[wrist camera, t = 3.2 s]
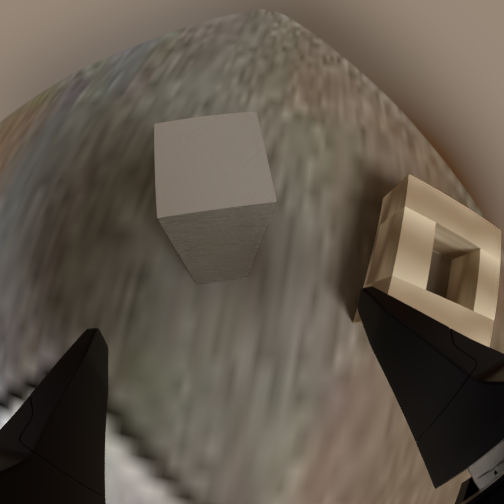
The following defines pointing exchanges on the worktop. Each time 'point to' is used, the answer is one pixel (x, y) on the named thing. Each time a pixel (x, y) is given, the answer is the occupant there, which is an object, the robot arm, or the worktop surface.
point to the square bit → (213, 192)
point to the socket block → (437, 258)
